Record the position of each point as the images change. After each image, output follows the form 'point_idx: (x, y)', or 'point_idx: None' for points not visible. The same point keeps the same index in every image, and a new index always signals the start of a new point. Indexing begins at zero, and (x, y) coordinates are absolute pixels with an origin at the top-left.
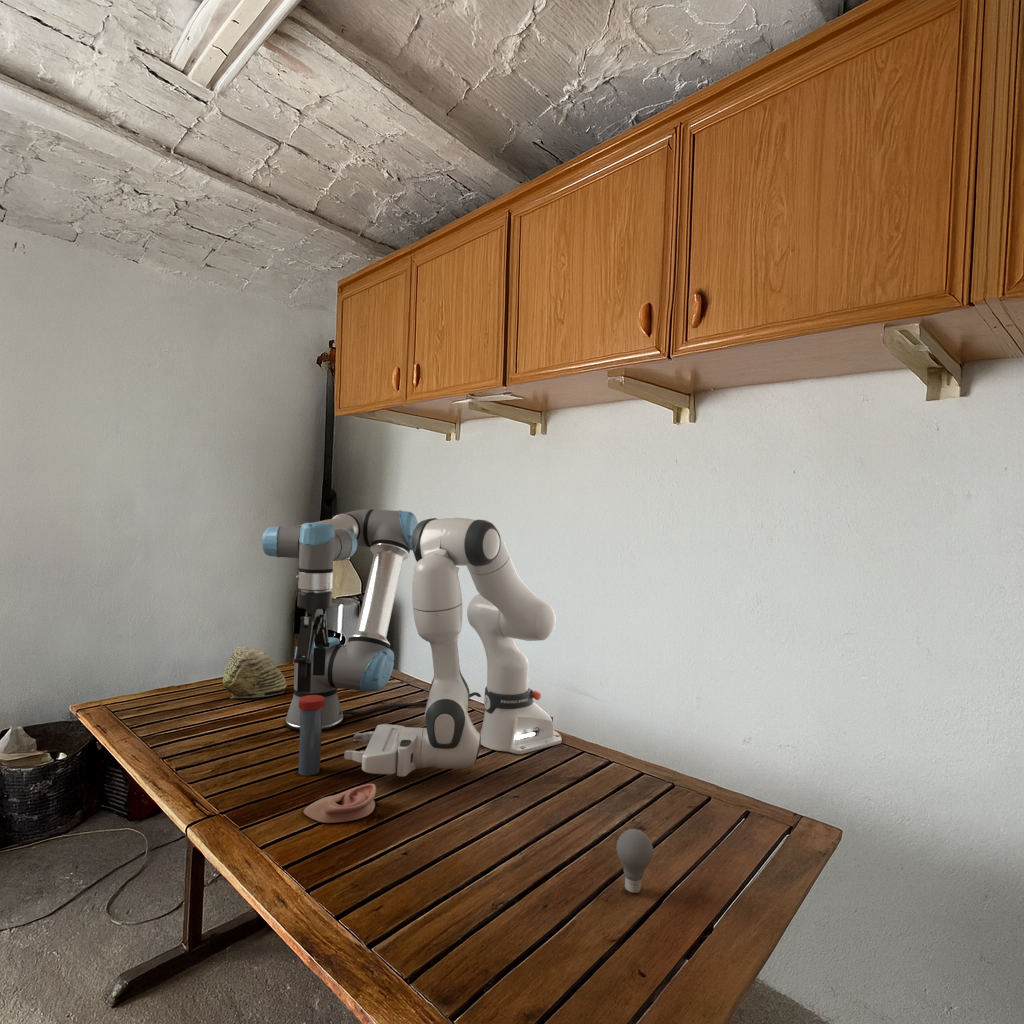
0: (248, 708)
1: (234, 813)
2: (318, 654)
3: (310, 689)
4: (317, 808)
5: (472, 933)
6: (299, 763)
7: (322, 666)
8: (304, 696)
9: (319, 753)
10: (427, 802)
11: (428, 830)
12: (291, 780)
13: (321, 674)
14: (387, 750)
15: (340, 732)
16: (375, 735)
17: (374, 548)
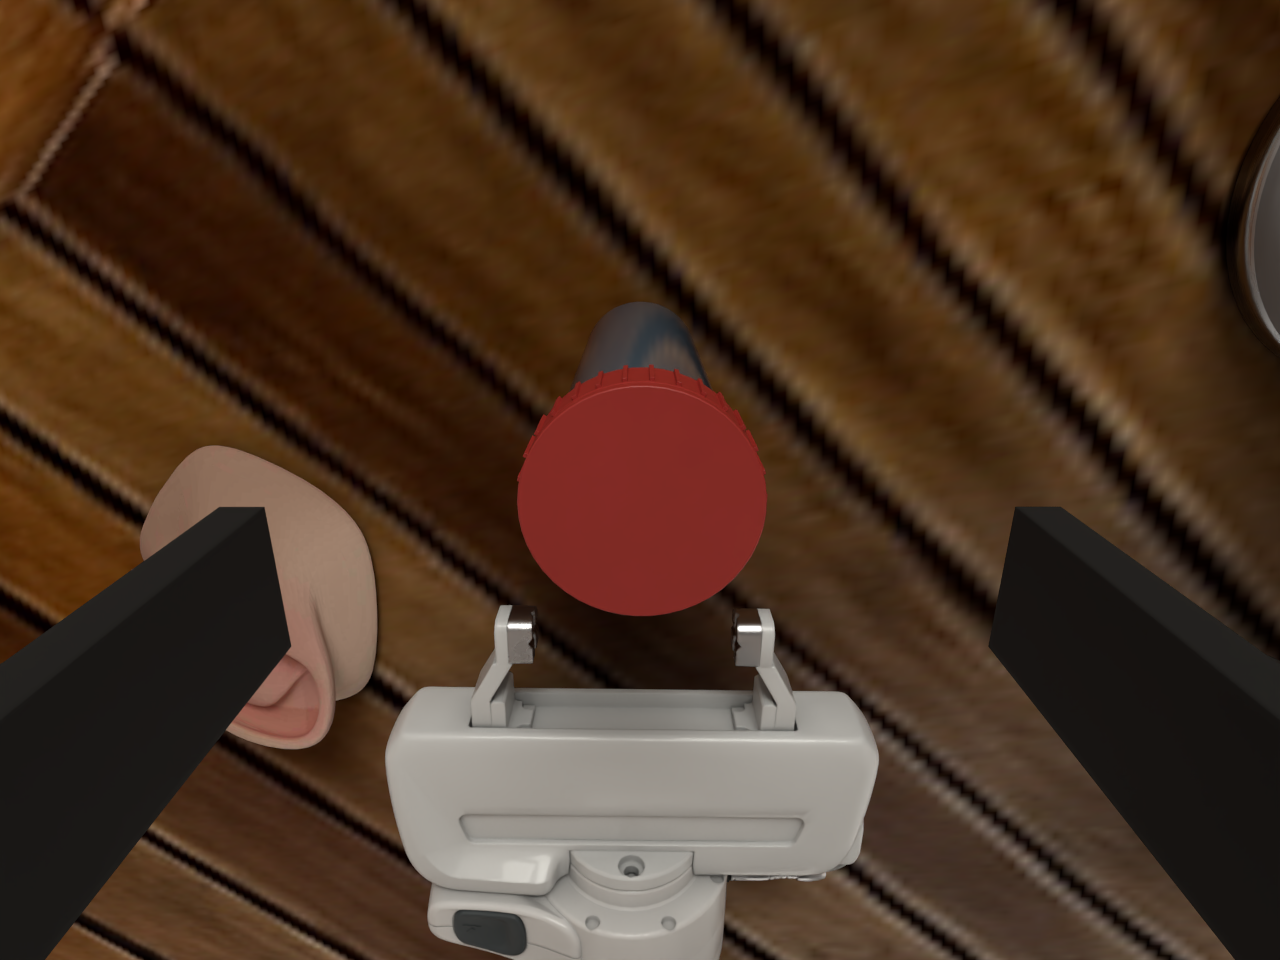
0: None
1: (132, 115)
2: (1220, 787)
3: (272, 662)
4: (182, 518)
5: None
6: (603, 322)
7: (1058, 701)
8: (705, 418)
9: None
10: (395, 851)
11: (200, 866)
12: (527, 295)
13: (999, 623)
14: (493, 827)
15: (1193, 400)
16: (681, 758)
17: None
